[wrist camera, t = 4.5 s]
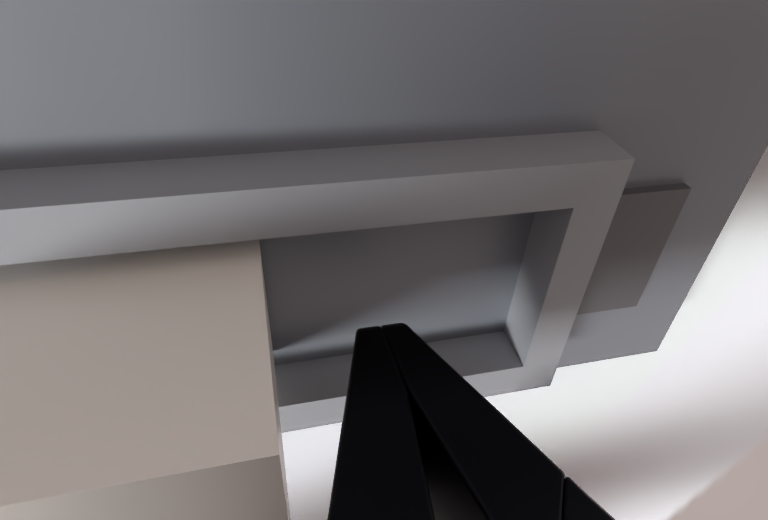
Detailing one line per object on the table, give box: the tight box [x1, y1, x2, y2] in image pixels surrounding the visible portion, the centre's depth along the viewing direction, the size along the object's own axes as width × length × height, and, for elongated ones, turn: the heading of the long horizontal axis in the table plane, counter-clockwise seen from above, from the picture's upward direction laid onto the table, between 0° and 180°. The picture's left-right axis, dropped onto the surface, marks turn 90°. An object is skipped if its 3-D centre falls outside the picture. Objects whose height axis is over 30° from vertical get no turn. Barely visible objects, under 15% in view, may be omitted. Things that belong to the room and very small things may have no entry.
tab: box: [0, 240, 290, 520], centre depth 7 cm, size 3×4×4 cm
